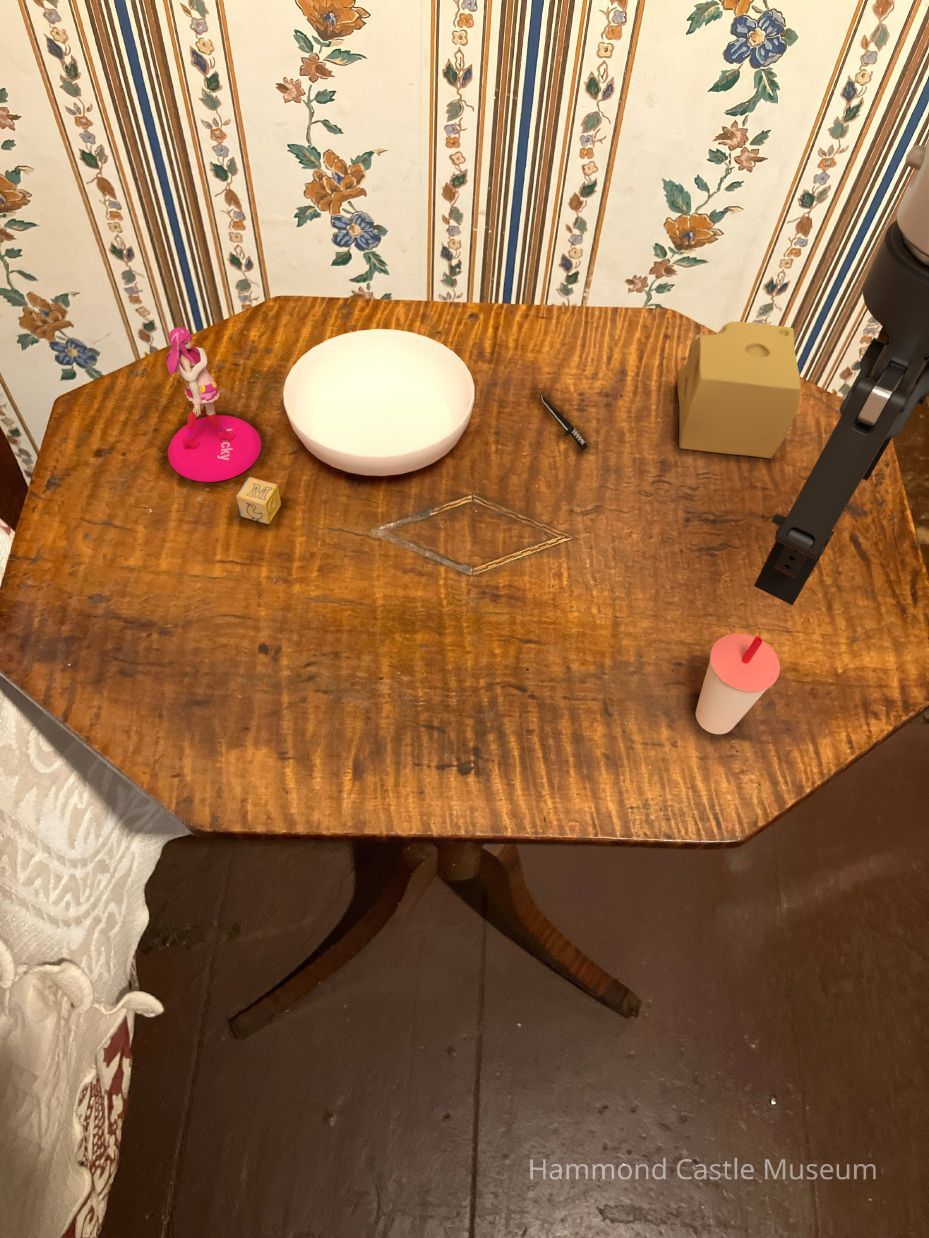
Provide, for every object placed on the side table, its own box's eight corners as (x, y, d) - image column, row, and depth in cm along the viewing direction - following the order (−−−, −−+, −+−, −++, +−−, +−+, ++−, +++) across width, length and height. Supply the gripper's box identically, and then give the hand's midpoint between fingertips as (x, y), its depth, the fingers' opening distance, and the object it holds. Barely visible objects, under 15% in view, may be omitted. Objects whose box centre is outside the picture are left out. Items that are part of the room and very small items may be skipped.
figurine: (262, 478, 90) (235, 359, 78) (166, 487, 89) (123, 368, 77) (260, 414, 96) (234, 293, 83) (169, 421, 95) (129, 301, 82)
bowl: (446, 362, 101) (446, 316, 96) (495, 481, 91) (498, 437, 86) (277, 389, 98) (269, 343, 93) (308, 516, 87) (300, 473, 82)
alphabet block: (254, 496, 89) (248, 475, 86) (282, 504, 88) (278, 482, 86) (240, 518, 87) (234, 497, 85) (269, 525, 87) (264, 505, 84)
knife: (532, 397, 99) (532, 394, 98) (544, 393, 99) (544, 390, 99) (577, 453, 93) (577, 450, 93) (589, 449, 94) (589, 446, 94)
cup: (746, 695, 77) (791, 616, 67) (747, 749, 74) (794, 675, 64) (684, 685, 77) (720, 605, 67) (683, 739, 74) (720, 664, 64)
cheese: (675, 388, 100) (696, 313, 92) (770, 399, 99) (800, 324, 91) (674, 452, 94) (697, 378, 86) (776, 464, 93) (809, 390, 85)
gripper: (968, 118, 50) (830, 406, 67) (797, 342, 38) (683, 622, 55) (1106, 160, 48) (926, 447, 65) (970, 413, 36) (795, 682, 53)
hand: (814, 528), depth 60 cm, fingers open, 13 cm apart
